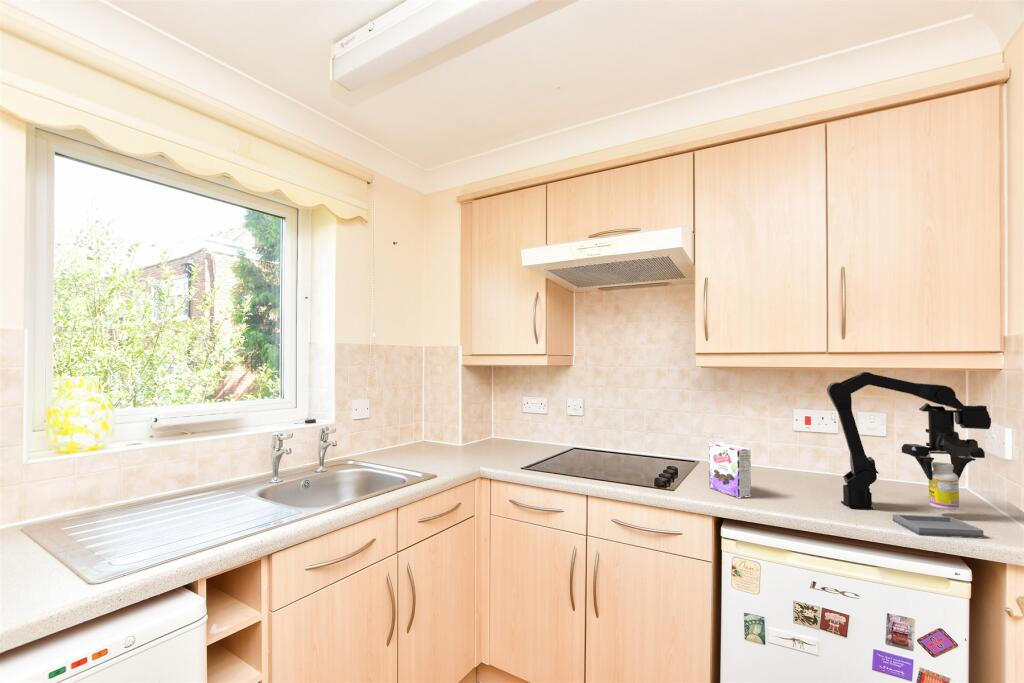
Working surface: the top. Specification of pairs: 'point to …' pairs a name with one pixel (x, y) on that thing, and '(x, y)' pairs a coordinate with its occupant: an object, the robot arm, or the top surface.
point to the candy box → (730, 469)
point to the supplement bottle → (944, 487)
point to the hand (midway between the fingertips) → (943, 479)
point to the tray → (937, 526)
